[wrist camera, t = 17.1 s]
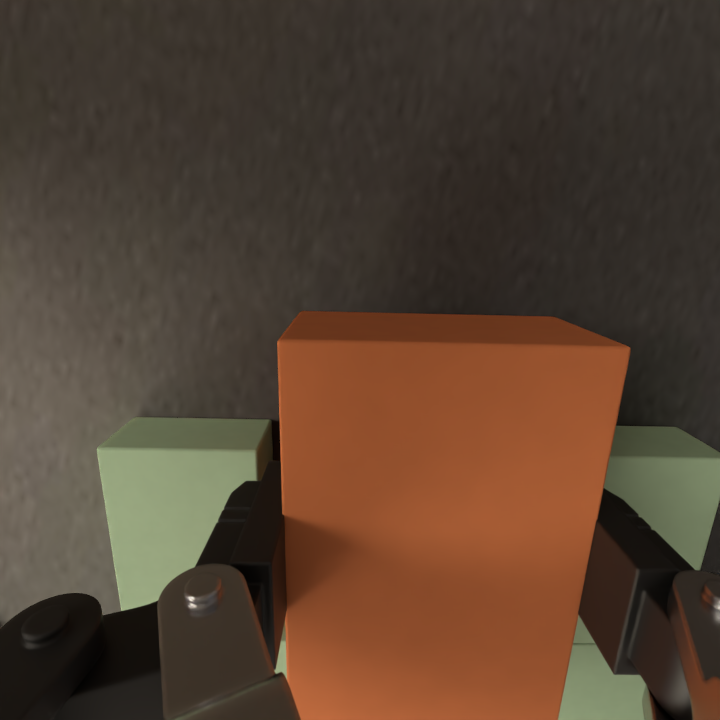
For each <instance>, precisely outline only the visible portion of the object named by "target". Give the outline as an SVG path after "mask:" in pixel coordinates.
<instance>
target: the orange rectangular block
mask: <svg viewBox="0 0 720 720" xmlns="http://www.w3.org/2000/svg"><path fill="white" fill-rule="evenodd" d="M277 348H278V384H279V419H280V454H281V489H282V514H283V515H284V523H285V561H286V598H287V611H286V617H285V630H286V665H287V681H288V684H289V686H290V689H291V692H292V695H293V698H294V701H295V704H296V706H297V709H298V712H299V715H300V718H301V720H558V717H559V712H560V707H561V702H562V697H563V692H564V687H565V682H566V676H567V671H568V666H569V661H570V656H571V651H572V646H573V641H574V636H575V631H576V626H577V621H578V616H579V615H578V611H579V606H580V601H581V596H582V591H583V586H584V581H585V575H586V570H587V565H588V560H589V555H590V550H591V545H592V540H593V535H594V530H595V525H596V520H597V519H598V514H599V509H600V504H601V499H602V494H603V489H604V484H605V479H606V474H607V468H608V463H609V458H610V453H611V448H612V443H613V438H614V433H615V428H616V423H617V418H618V413H619V408H620V403H621V397H622V392H623V387H624V382H625V377H626V372H627V367H628V362H629V357H630V352H631V350H630V347H628V346H626V345H624V344H621V343H619V342H616V341H614V340H611V339H609V338H606V337H604V336H601V335H599V334H596V333H594V332H591V331H589V330H586V329H584V328H581V327H579V326H576V325H574V324H571V323H569V322H566V321H564V320H561V319H559V318H556V317H550V316H505V315H461V314H416V313H371V312H327V311H301V312H300V313H299V314H298V315H297V316H296V318H295V319H294V320H293V322H292V323H291V324H290V325H289V327H288V328H287V329H286V331H285V332H284V333H283V334H282V336H281V337H280V338H279V340H278V342H277Z"/></svg>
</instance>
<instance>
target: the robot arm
mask: <svg viewBox="0 0 720 720" xmlns="http://www.w3.org/2000/svg"><path fill="white" fill-rule="evenodd" d="M638 515H639V514H638V513H637V512H636V511H635V510H634V509H633V508H631V507H630V506H629V505H628V504H627V503H626V502H625V501H624V500H623V499H621V498H620V497H618V496H616V495H615V494H613V493H611V492H610V491H608V490H606V489H605V488H604V489H603V494H602V499H601V504H600V509H599V514H598V519H597V520H596V525H595V530H594V535H593V540H592V545H591V550H590V555H589V560H588V565H587V570H586V575H585V581H584V586H583V591H582V596H581V601H580V606H579V611H578V615H579V616H580V618H581V620H582V622H583V623H584V625H585V627H586V628H587V630H588V632H589V633H590V635H591V637H592V639H593V640H594V642H595V644H596V645H597V647H598V649H599V650H600V652H601V654H602V655H603V657H604V659H605V661H606V662H607V664H608V666H609V667H610V669H611V671H612V672H613V674H614V675H640V676H641V677H642V679H643V680H644V682H645V683H646V686H645V689H644V693H643V697H642V707H643V714H644V720H720V575H716V574H713V573H709V572H705V571H699V570H695V569H694V568H693V567H692V566H691V565H690V564H689V563H688V562H687V561H686V560H685V559H684V558H683V557H681V556H680V555H679V554H678V553H677V552H676V551H675V550H674V549H673V548H672V547H671V546H670V545H669V544H668V543H667V542H666V541H665V540H664V539H663V538H662V537H661V536H660V535H659V534H658V533H657V532H656V531H655V530H652V529H651V526H650V525H649V524H648V523H647V522H646V521H645V520H644V519H643V518H642V517H639V516H638ZM286 611H287V598H286V561H285V523H284V515H283V514H282V489H281V461H269V462H268V464H267V467H266V469H265V472H264V475H263V477H262V480H261V481H245V482H244V483H242V484H241V485H240V486H239V487H238V488H236V489H235V490H234V491H233V492H231V494H230V496H229V498H228V500H227V502H226V504H225V506H224V510H222V513H221V515H220V517H219V519H218V523H216V525H215V527H214V529H213V531H212V533H211V535H210V537H209V539H208V541H207V543H206V545H205V547H204V549H203V551H202V553H201V555H200V557H199V559H198V562H197V564H196V566H195V567H194V568H191V569H189V570H187V571H185V572H183V573H181V574H180V575H178V576H177V577H175V578H174V579H173V580H171V581H170V582H169V583H168V584H167V585H166V587H165V588H164V589H163V591H162V593H161V595H160V596H159V600H158V601H156V602H153V603H150V604H148V605H144V606H141V607H137V608H132V609H128V610H124V611H120V612H116V613H112V614H108V615H102V610H101V605H100V603H99V602H98V600H96V599H95V598H94V597H92V596H90V595H87V594H82V593H69V594H63V595H58V596H54V597H51V598H48V599H45V600H43V601H40V602H38V603H36V604H34V605H32V606H30V607H28V608H27V609H25V610H23V611H22V612H20V613H19V614H17V615H16V616H15V617H13V618H12V619H11V620H10V621H9V622H7V623H6V624H5V625H4V626H3V627H2V628H1V629H0V720H301V718H300V715H299V712H298V709H297V706H296V704H295V701H294V698H293V695H292V692H291V689H290V686H289V684H288V681H287V679H286V677H285V675H284V674H283V673H282V672H279V673H277V674H276V673H275V671H274V670H276V665H277V660H278V654H279V649H280V643H281V638H282V633H283V627H284V622H285V617H286Z"/></svg>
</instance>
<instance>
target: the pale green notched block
mask: <svg viewBox="0 0 720 720" xmlns="http://www.w3.org/2000/svg"><path fill="white" fill-rule="evenodd" d="M97 455H98V461H99V468H100V474H101V481H102V487H103V494H104V501H105V507H106V514H107V520H108V527H109V533H110V540H111V546H112V553H113V559H114V566H115V573H116V579H117V586H118V592H119V599H120V605H121V611H124V610H128V609H132V608H137V607H141V606H144V605H148V604H150V603H153V602H156V601H158V600H159V596H160V595H161V593H162V591H163V589H164V588H165V587H166V585H167V584H168V583H169V582H170V581H171V580H173V579H174V578H175V577H177V576H178V575H180V574H181V573H183V572H185V571H187V570H189V569H191V568H194V567H195V566H196V564H197V562H198V559H199V557H200V555H201V553H202V551H203V549H204V547H205V545H206V543H207V541H208V539H209V537H210V535H211V533H212V531H213V529H214V527H215V525H216V523H218V519H219V517H220V515H221V513H222V510H224V506H225V504H226V502H227V500H228V498H229V496H230V494H231V492H233V491H234V490H235V489H236V488H238V487H239V486H240V485H241V484H242V483H244V482H245V481H261V480H262V477H263V475H264V472H265V469H266V467H267V464H268V462H269V461H273V447H272V422H271V420H268V419H213V418H158V417H135V418H133V419H132V420H131V421H130V422H128V423H127V424H126V425H125V426H123V427H122V428H121V429H120V430H118V431H117V432H116V433H115V434H113V435H112V436H111V437H110V438H109V439H107V440H106V441H105V442H104V443H102V444H101V445H100V446H99V447H98V448H97ZM604 488H605V489H606V490H608V491H610V492H611V493H613V494H615V495H616V496H618V497H620V498H621V499H623V500H624V501H625V502H626V503H627V504H628V505H629V506H630V507H631V508H633V509H634V510H635V511H636V512H637V513H638V514H639V515H638V516H639V517H642V518H643V519H644V520H645V521H646V522H647V523H648V524H649V525H650V526H651V529H652V530H655V531H656V532H657V533H658V534H659V535H660V536H661V537H662V538H663V539H664V540H665V541H666V542H667V543H668V544H669V545H670V546H671V547H672V548H673V549H674V550H675V551H676V552H677V553H678V554H679V555H680V556H681V557H683V558H684V559H685V560H686V561H687V562H688V563H689V564H690V565H691V566H692V567H693V568H694V569H695V570H699V571H700V568H701V565H702V561H703V558H704V554H705V551H706V547H707V543H708V540H709V536H710V533H711V529H712V526H713V522H714V519H715V515H716V511H717V508H718V504H719V501H720V452H718V451H717V450H715V449H713V448H711V447H710V446H708V445H706V444H705V443H703V442H701V441H700V440H698V439H696V438H694V437H693V436H691V435H689V434H688V433H686V432H684V431H683V430H681V429H679V428H677V427H656V426H616V428H615V433H614V438H613V443H612V448H611V453H610V458H609V463H608V468H607V474H606V479H605V484H604ZM274 671H275V673H276V674H277V673H279V672H282V673H283V674H284V675H285V677H286V679H287V665H286V630H285V622H284V627H283V633H282V638H281V643H280V649H279V654H278V660H277V665H276V670H274ZM645 686H646V683H645V682H644V680H643V679H642V677H641V676H640V675H614V674H613V672H612V671H611V669H610V667H609V666H608V664H607V662H606V661H605V659H604V657H603V655H602V654H601V652H600V650H599V649H598V647H597V645H596V644H595V642H594V640H593V639H592V637H591V635H590V633H589V632H588V630H587V628H586V627H585V625H584V623H583V622H582V620H581V618H580V616H578V621H577V626H576V631H575V636H574V641H573V646H572V651H571V656H570V661H569V666H568V671H567V676H566V682H565V687H564V692H563V697H562V702H561V707H560V712H559V717H558V720H644V714H643V707H642V697H643V693H644V689H645Z"/></svg>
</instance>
